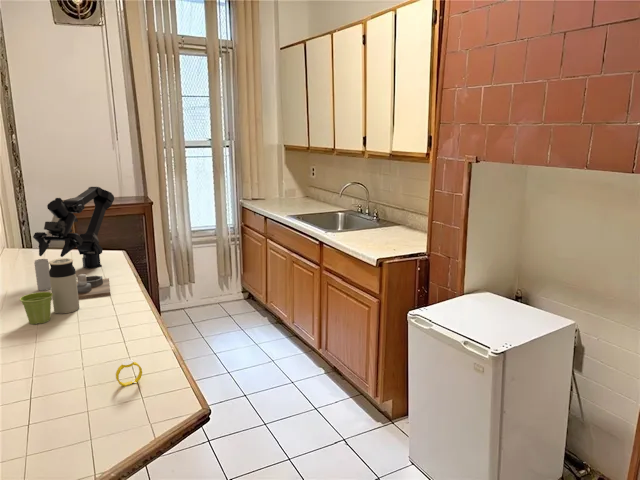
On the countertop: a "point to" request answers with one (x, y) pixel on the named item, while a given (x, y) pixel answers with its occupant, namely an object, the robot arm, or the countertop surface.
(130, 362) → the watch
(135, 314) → the countertop surface
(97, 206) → the robot arm
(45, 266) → the beverage can
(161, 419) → the countertop surface
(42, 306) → the plant pot
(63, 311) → the travel mug
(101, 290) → the pin board
